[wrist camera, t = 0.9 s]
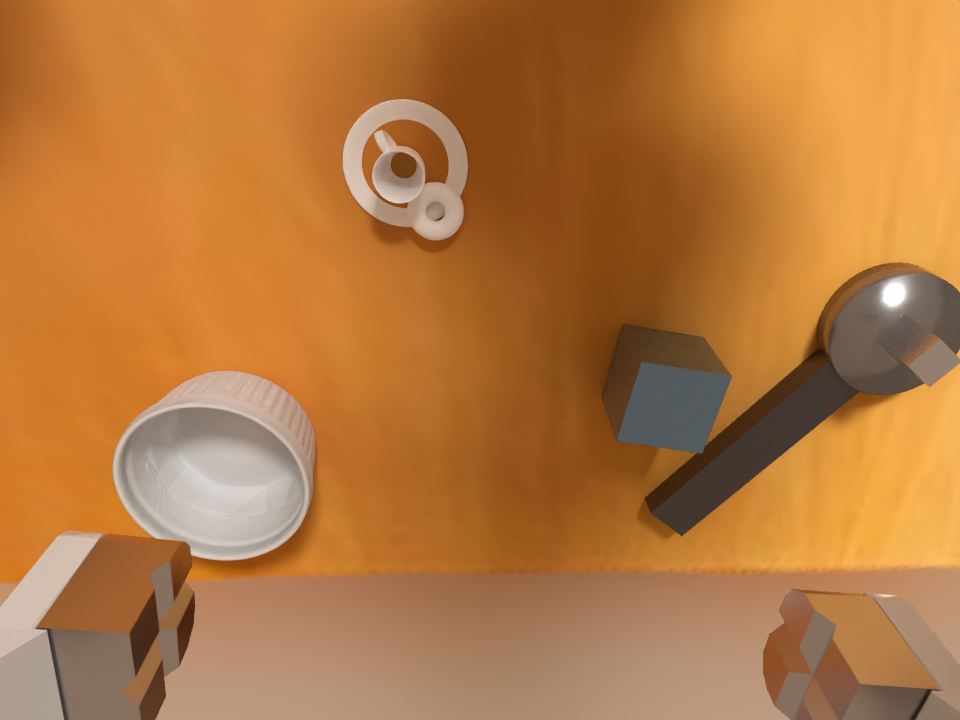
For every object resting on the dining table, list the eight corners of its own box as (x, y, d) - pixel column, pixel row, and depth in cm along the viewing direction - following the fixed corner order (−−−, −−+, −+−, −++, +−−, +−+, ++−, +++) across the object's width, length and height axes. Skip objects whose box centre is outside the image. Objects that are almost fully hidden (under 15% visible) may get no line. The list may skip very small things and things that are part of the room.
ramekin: (297, 523, 57) (275, 585, 51) (135, 468, 55) (92, 527, 48) (353, 394, 52) (337, 446, 46) (177, 327, 49) (134, 372, 43)
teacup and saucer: (475, 230, 47) (475, 248, 43) (358, 242, 47) (348, 261, 43) (460, 91, 43) (459, 98, 39) (333, 105, 43) (320, 113, 40)
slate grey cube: (622, 324, 49) (641, 361, 44) (703, 337, 50) (731, 376, 45) (601, 397, 52) (616, 441, 47) (678, 409, 53) (702, 453, 47)
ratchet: (697, 536, 58) (722, 594, 52) (621, 479, 56) (639, 534, 50) (970, 315, 50) (1037, 355, 44) (896, 236, 47) (956, 267, 41)
